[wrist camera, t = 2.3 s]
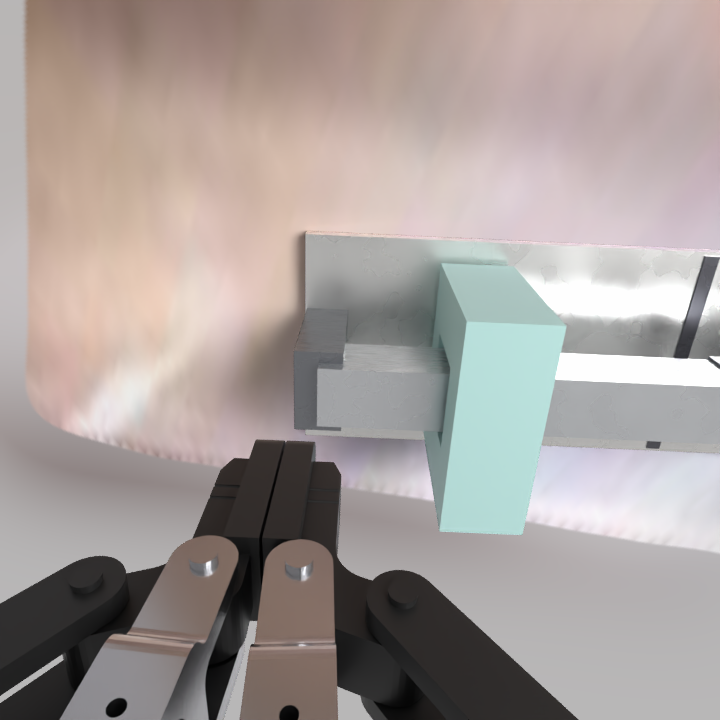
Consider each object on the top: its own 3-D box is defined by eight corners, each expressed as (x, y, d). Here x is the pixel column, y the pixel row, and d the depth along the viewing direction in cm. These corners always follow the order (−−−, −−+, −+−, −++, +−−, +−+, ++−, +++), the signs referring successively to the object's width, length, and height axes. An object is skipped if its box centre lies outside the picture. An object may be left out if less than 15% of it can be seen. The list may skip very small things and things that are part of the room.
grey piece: (306, 231, 31) (288, 267, 24) (820, 254, 31) (950, 297, 24) (306, 428, 37) (291, 505, 30) (743, 447, 37) (832, 529, 30)
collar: (440, 263, 30) (466, 321, 22) (513, 266, 30) (566, 326, 22) (423, 431, 35) (439, 531, 27) (486, 434, 35) (522, 534, 27)
